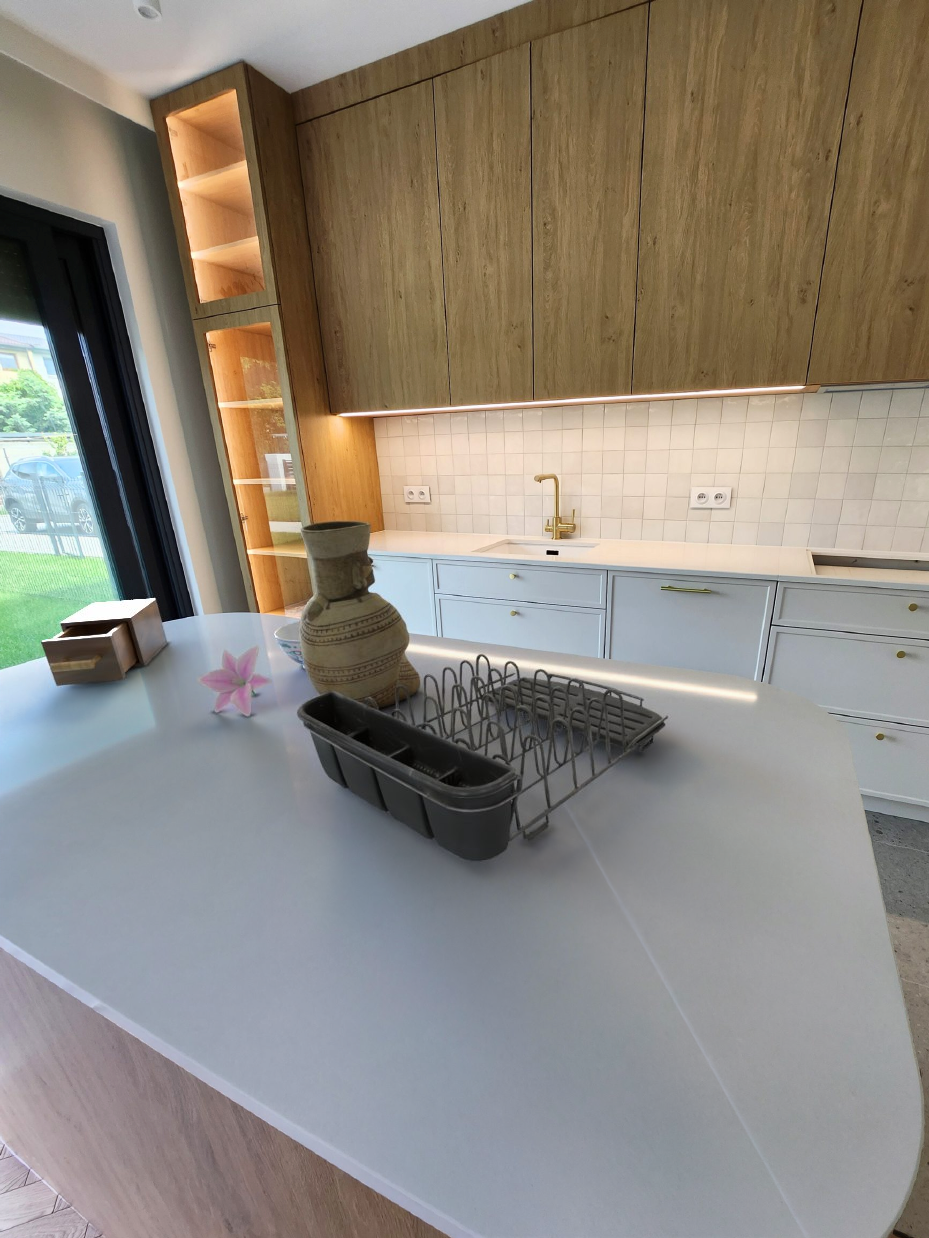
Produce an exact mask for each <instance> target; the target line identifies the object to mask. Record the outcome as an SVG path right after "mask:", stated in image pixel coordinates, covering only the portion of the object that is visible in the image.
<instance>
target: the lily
mask: <svg viewBox="0 0 929 1238" xmlns="http://www.w3.org/2000/svg"><path fill="white" fill-rule="evenodd" d="M259 651H260V646H259V645H255V646H253V647H251V648H250V649H247V650H246V651H245V652H244V653H242V654H241V655H240V656H239V657H238V658H236V657H235V656H234V655H233V654H232V653H231V652H229V650H227V649H224V650H223V651H222V656H221V668H218V669H214V670H212V671H209V672H207V673H204V674H202V675H201V676H199V677H198V678H197V683H199V684H200V685H201V686H203V687H205V688H207V689H209V690H211V691H213V692H217V693H218V694H217V696H216V701H215V705H214V713H215V714H216V713H219V712H220V711H222V710H223V709H225V708H226V707H228V706H229V705H231V704H232V705H233V707H235V708H236V709H237V710H238V711H239V712H240V713H241V714H242V715H244V716H246V717H250V715H251V713H252V712H251V711H252V695H253V696H254V697H256V696H257V694H256V693H255V691H256V690H258V689H260V688H264V687H265V686H267V685H270V684H271V683H272V680H271V679H269V678H268V677H266V676H264V675H262V674H260V673H257V672H255V669H256V664H257V660H258V656H259Z"/></svg>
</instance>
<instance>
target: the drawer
mask: <svg viewBox="0 0 929 1238" xmlns="http://www.w3.org/2000/svg"><path fill="white" fill-rule="evenodd" d="M40 644H41V646H42V649H43V652H44V654H45V657H46V661H47V663H48V666H49V669H50V673H51V675H52V677H53V680H54V683H55V686H56V687H59V686H60V687H61V686H71V685H81V684H91V683H101V682H102V683H103V682H110V681H119V680H124V679H126V672H128V670H129V669H131V668H130V667H131V666H132V665H133V664H134V663H135V662H136V661H138V660H139V658H138V655H137V652H136V648H135V645H134V642H133V638H132V635H131V631H130V628H129V625H128V621H124V622H112V623H100V624H88V625H76V626H71V627H70V628H68V629H66V630H65V631H63V630H62V631H61V632H60V633H57V635H54V637H52V638H49V639H43V640H41V641H40Z"/></svg>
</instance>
